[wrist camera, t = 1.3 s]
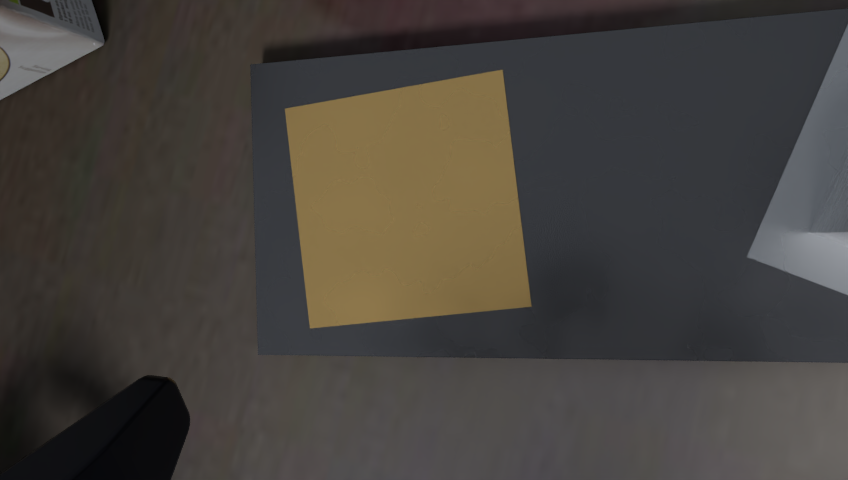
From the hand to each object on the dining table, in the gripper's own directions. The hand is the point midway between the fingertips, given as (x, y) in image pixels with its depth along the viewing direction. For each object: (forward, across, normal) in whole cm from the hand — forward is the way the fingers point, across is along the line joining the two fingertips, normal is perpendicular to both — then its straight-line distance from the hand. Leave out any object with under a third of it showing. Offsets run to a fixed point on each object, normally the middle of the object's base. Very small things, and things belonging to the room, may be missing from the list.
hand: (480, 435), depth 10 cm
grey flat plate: (+14, -2, +6) cm, 15 cm away
